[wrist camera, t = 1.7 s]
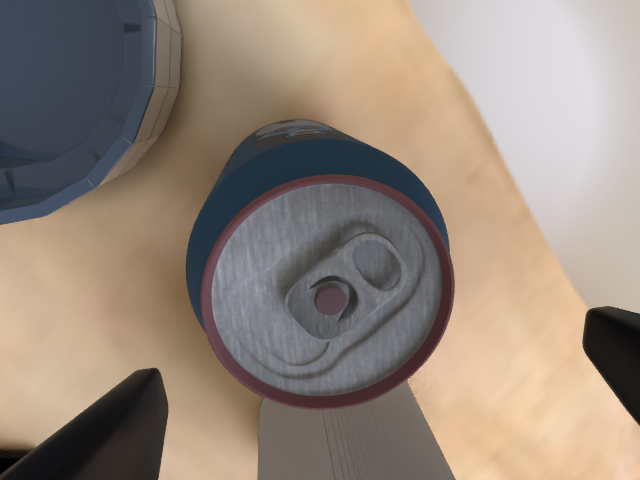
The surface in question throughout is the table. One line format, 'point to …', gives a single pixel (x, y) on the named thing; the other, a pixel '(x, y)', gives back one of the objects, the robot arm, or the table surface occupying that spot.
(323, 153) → the soda can
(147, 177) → the table surface
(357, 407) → the cup
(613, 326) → the robot arm
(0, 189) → the bowl
